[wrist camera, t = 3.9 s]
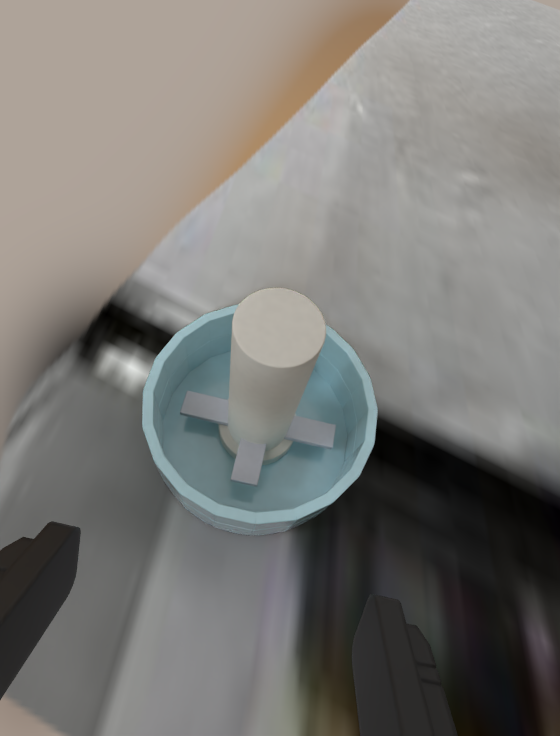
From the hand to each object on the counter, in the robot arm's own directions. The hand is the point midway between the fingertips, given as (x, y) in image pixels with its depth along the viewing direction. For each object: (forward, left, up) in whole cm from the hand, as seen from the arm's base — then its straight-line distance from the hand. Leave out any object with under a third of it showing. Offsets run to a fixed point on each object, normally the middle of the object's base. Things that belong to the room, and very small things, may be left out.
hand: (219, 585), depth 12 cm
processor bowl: (0, -10, -16) cm, 19 cm away
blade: (0, -10, -15) cm, 18 cm away
